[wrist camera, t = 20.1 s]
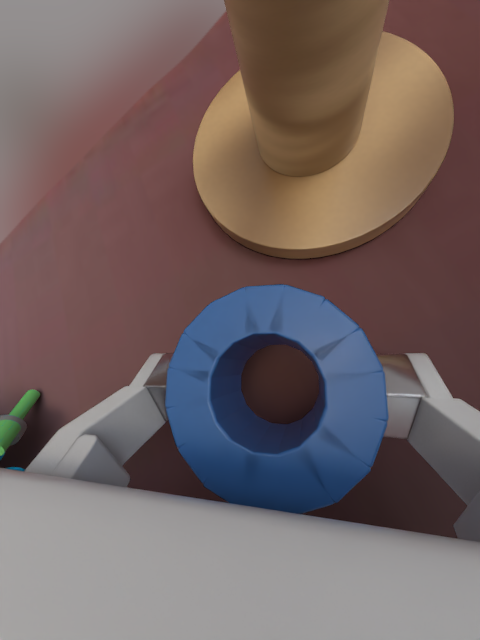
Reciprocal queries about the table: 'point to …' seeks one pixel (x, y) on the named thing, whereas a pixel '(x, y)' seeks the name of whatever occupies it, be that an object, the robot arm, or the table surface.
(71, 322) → the table surface
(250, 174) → the stand
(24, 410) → the gear
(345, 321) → the ring
